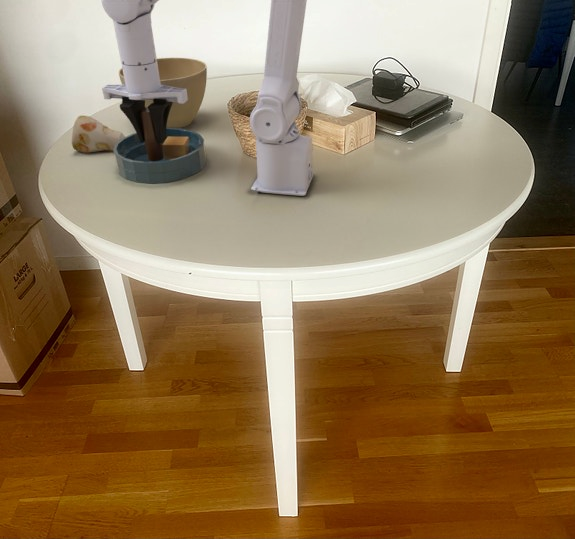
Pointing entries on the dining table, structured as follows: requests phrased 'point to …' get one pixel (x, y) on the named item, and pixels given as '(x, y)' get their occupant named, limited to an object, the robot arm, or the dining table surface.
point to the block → (176, 147)
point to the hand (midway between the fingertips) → (152, 140)
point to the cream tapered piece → (93, 135)
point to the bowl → (141, 170)
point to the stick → (150, 136)
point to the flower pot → (181, 76)
